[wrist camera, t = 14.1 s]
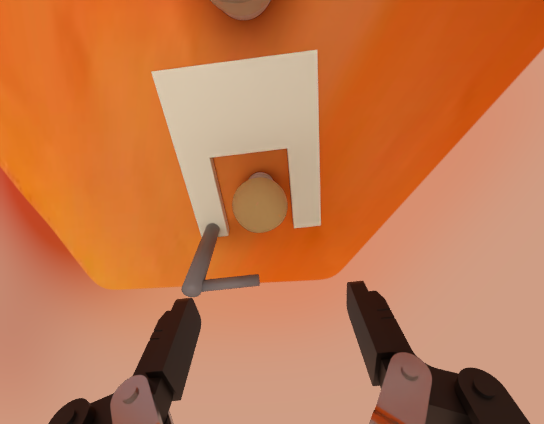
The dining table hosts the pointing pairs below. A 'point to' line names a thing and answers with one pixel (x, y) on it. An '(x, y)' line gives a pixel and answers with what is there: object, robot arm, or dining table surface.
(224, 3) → the coffee cup
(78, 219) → the dining table surface
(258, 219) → the light bulb
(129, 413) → the robot arm
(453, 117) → the dining table surface
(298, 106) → the cream u-shaped stand
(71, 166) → the dining table surface
